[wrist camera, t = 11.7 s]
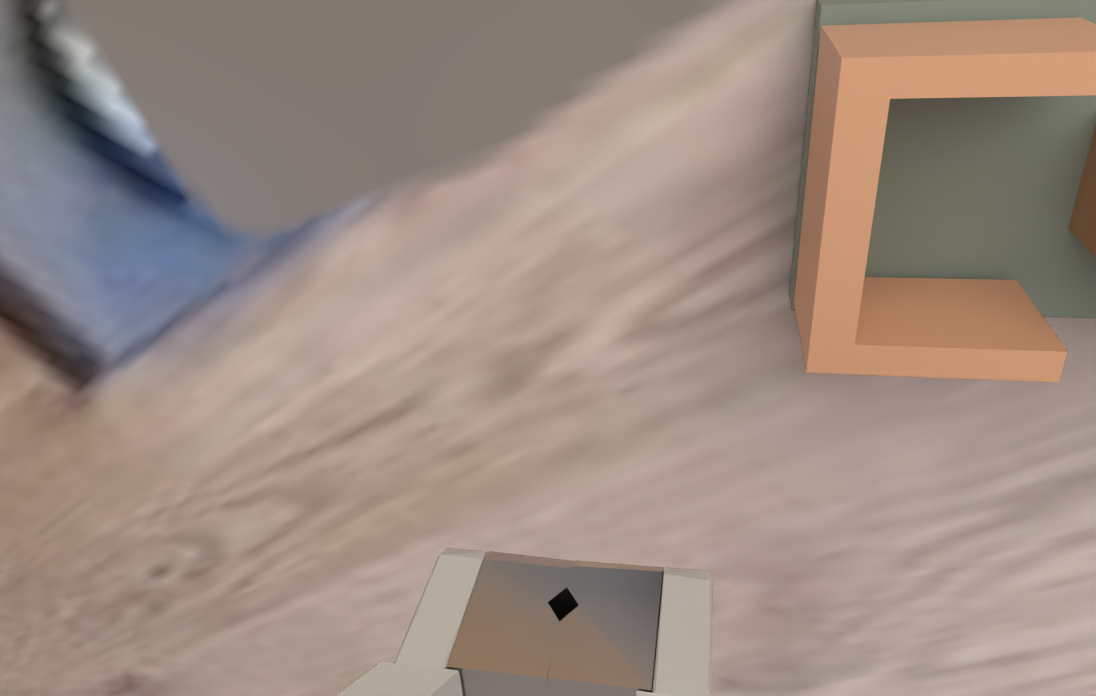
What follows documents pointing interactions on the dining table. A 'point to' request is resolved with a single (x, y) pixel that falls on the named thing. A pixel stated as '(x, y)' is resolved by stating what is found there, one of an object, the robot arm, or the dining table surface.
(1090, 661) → the dining table surface
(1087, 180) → the brown rectangular block
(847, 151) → the cap
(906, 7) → the grey slotted holder
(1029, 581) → the dining table surface
